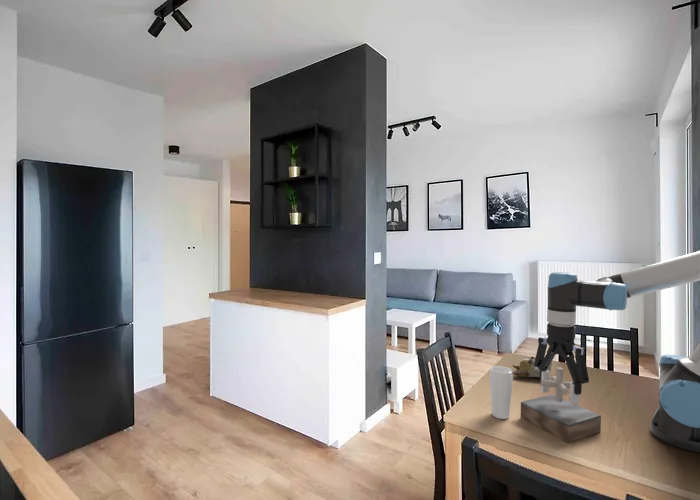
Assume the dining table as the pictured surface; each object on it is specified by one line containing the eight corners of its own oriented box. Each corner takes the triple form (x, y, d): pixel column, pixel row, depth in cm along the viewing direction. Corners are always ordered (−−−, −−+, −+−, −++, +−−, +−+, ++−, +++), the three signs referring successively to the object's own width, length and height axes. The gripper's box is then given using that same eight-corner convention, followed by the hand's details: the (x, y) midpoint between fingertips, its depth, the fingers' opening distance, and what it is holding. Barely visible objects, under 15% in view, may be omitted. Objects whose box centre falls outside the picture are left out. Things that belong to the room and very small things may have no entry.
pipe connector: (583, 409, 109) (584, 375, 108) (546, 406, 111) (547, 372, 110) (570, 395, 118) (571, 363, 118) (536, 392, 120) (537, 361, 120)
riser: (600, 432, 110) (601, 415, 110) (568, 442, 104) (568, 425, 104) (551, 409, 125) (551, 394, 125) (520, 417, 119) (520, 401, 119)
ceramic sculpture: (551, 362, 145) (509, 358, 152) (552, 384, 145) (510, 380, 152) (551, 354, 155) (511, 351, 162) (552, 375, 155) (513, 371, 162)
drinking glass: (485, 415, 121) (485, 368, 120) (496, 409, 125) (496, 364, 124) (505, 423, 115) (506, 374, 115) (516, 416, 120) (516, 369, 119)
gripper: (606, 331, 105) (603, 410, 106) (538, 315, 125) (537, 383, 126) (588, 333, 102) (586, 415, 103) (522, 317, 122) (520, 386, 123)
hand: (559, 397), depth 114 cm, fingers closed on pipe connector, 9 cm apart
